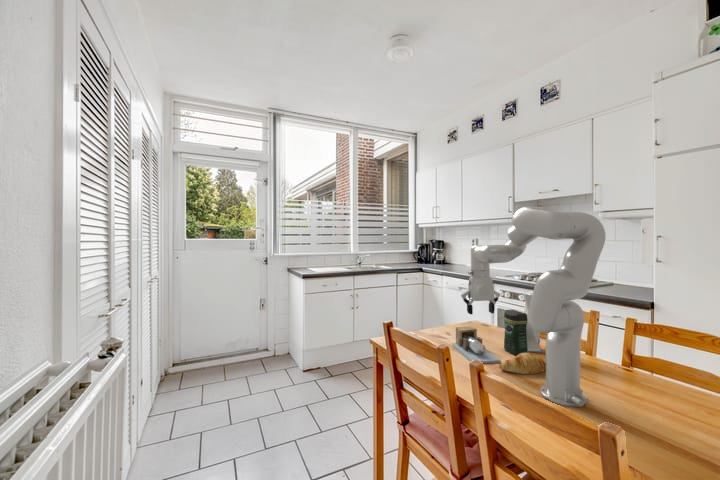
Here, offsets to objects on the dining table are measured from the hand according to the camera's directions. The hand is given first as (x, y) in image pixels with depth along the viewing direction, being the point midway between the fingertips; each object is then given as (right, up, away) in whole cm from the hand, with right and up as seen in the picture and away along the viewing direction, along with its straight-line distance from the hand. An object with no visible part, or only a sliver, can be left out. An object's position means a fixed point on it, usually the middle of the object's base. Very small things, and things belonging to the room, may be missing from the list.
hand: (480, 313), depth 139 cm
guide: (-1, -18, +6) cm, 19 cm away
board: (-1, -19, +4) cm, 19 cm away
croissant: (+12, -19, -13) cm, 26 cm away
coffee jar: (+18, -19, +5) cm, 26 cm away
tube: (-1, -17, +5) cm, 18 cm away
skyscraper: (+26, -19, +7) cm, 33 cm away
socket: (-2, -18, +12) cm, 22 cm away
